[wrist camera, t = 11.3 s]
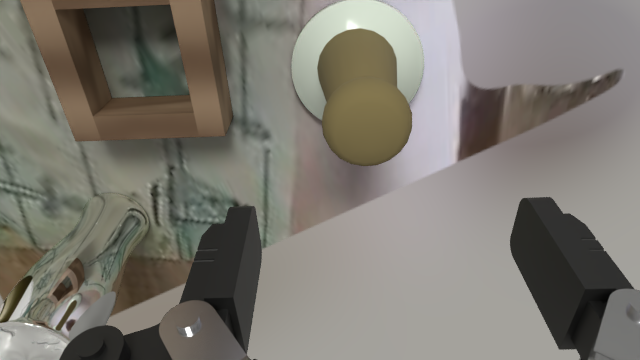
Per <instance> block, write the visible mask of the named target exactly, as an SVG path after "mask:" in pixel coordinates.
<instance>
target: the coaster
mask: <svg viewBox="0 0 640 360" xmlns="http://www.w3.org/2000/svg"><path fill="white" fill-rule="evenodd" d="M358 28H362V29H367V30H372V31H374V32H376V33H378V34H379V35H381V36H383V37H384V38H385V39H386V40H387V41H388V42H389V44H390V45H391V46H392V47H393V50H394V53H395V55H396V58H397V88H398V89H399V90H400V91H401V92H402V94H403V95H404V96H405V97H406V99H407V102H408V104H409V103H410V101H411V100H412V99H413V97H414V96H415V94H416V92H417V90H418V88H419V85H420V83H421V79H422V76H423V70H424V55H423V48H422V45H421V41H420V39H419V37H418V34H417V32H416V31H415V29H414V28H413V26H412V24H411V23H410V22H409V21H408V19H407V18H406V17H405V16H404V15H403V14H402V13H401V12H400V11H398V10H397V9H395V8H394V7H392V6H390V5H388V4H386V3H384V2H381V1H378V0H341V1H338V2H335V3H333V4H330V5H329V6H327V7H325V8H323V9H322V10H320V11H319V12H318V13H317V14H315V15H314V16H313V17H312V18H311V19H310V20H309V21H308V22H307V24H306V25H305V26H304V28H303V29H302V31H301V33H300V34H299V36H298V39H297V41H296V44H295V47H294V51H293V56H292V64H291V66H292V79H293V83H294V87H295V90H296V92H297V94H298V96H299V98H300V100H301V101H302V103H303V104H304V105H305V107H306V108H307V109H308V110H309V111H310V112H311V113H312V114H313V115H315V116H316V117H317V118H319V119H320V120H322V116H323V112H324V107H325V105H326V103H327V102H326V99H325V96H324V93H323V91H322V88H321V85H320V82H319V78H318V70H317V66H318V61H319V56H320V54H321V52H322V50H323V48H324V47H325V45H326V44H327V43H328V42H329V41H330V40H331V39H332V38H333V37H334V36H335V35H337V34H339V33H342V32H344V31H346V30H350V29H358Z"/></svg>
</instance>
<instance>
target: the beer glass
mask: <svg viewBox="0 0 640 360" xmlns="http://www.w3.org/2000/svg"><path fill="white" fill-rule="evenodd" d="M148 229H149V219H148V216H147V214H146V212H145V210H144V209H143V208H142V207H141V206H140V205H139V204H138V203H137V202H135V201H134V200H132V199H131V198H129V197H126V196H124V195H121V194H117V193H102V194H98V195H96V196H94V197H92V198H91V199H89V200H88V202H87V203H86V204H85V206H84V208H83V211H82V213H81V216H80V218H79V220H78V222H77V224H76V225H75V227H74V228H73V229H72V230H71V232H70V233H69V234H68V235H66V236H65V237H64V238H63V239H62V240H61V241H60V242H59V243H57V244H56V245H55V246H54V247H53V248H52V249H50V250H49V251H48V252H47V253H46V254H45V255H44V256H42V257H41V258H40V259H39V260H38V261H37V262H36V263H35V264H34V265H33V266H32V267H31V268H30V269H29V270H28V271H27V272H26V273H25V275H24V276H23V277H22V278H21V279H20V281H19V282H18V283H17V284H16V285H15V287H14V288H13V290H12V291H11V292H10V294H9V295H8V296H7V298H6V299H5V301H4V302H3V304H2V305H1V307H0V360H59V359H60V357H61V355H62V353H63V351H64V349H65V348H66V346H67V345H68V344H69V343H70V342H71V341H72V340H73V339H74V338H75V337H76V336H77V335H79V334H80V333H82V332H84V331H86V330H88V329H90V328H93V327H97V326H103V325H106V323H107V321H108V319H109V317H110V315H111V313H112V310H113V308H114V305H115V303H116V300H117V297H118V294H119V290H120V287H121V283H122V279H123V276H124V272H125V268H126V265H127V261H128V259H129V256H130V254H131V253H132V251H133V249H134V248H135V247H136V246H137V245H138V243H139V242H140V241H141V240H142V239H143V238H144V236H145V235H146V233H147V232H148Z"/></svg>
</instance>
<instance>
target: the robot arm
mask: <svg viewBox="0 0 640 360" xmlns="http://www.w3.org/2000/svg"><path fill="white" fill-rule="evenodd" d="M510 247H511V253H512V256H513V258H514V260H515V262H516V264H517V266H518V268H519V270H520V272H521V274H522V276H523V278H524V280H525V282H526V284H527V286H528V288H529V290H530V292H531V294H532V296H533V298H534V300H535V302H536V303H537V306H538V308H539V310H540V312H541V314H542V316H543V318H544V320H545V322H546V324H547V326H548V328H549V330H550V332H551V334H552V336H553V338H554V340H555V342H556V344H557V346H558V348H559V349H577V351H578V353H579V355H580V359H579V360H640V291H639V290H635V289H634V288H633V287H632V286H631V284H630V283H629V281H628V280H627V279H626V277H625V276H624V275H623V273H622V272H621V271H620V270H619V268H618V267H617V265H616V264H615V263H614V262H613V260H612V259H611V258H610V256H609V255H608V254H607V252H606V251H604V250H603V249H604V248H603V247H602V246H601V244H600V243H599V242H598V241H597V240H595V236H594V235H593V234H592V232H591V231H590V230H589V229H588V227H587V226H586V225H585V224H584V223H582V222H581V221H580V220H578V219H577V218H575V217H574V216H573V215H571V214H563V213H562V211H561V210H560V208H559V207H558V206H557V204H556V203H555V201H554V200H553V199H552V198H550V197H540V198H523V199H522V200H521V201H520V204H519V207H518V211H517V215H516V219H515V222H514V226H513V230H512V234H511V238H510ZM261 253H262V250H261V240H260V234H259V228H258V222H257V215H256V210H255V207H254V206H242V207H230V208H229V209H228V213H227V216H226V220H225V224H212V225H211V226H210V228H209V229H208V230H207V231H206V232H205V233H204V234H203V235H202V237H201V240H200V243H199V246H198V252H196V255H195V258H194V262H193V264H192V267H191V270H190V273H189V276H188V279H187V282H186V285H185V288H184V291H183V294H182V298H181V300H180V303H179V305H176V306H175V307H173V308H172V309H171V310H169V311H168V312H167V313H166V314H165V316H164V317H163V319H162V320H161V322H160V323H159V324H158V325H155V326H153V327H151V328H148V329H144V330H141V331H138V332H134V333H131V334H128V335H124V336H123V334H122V332H121V331H120V330H119V329H117V328H116V327H113V326H108V325H103V326H97V327H93V328H90V329H88V330H86V331H84V332H82V333H80V334H79V335H77V336H76V337H75V338H74V339H73V340H72V341H71V342H70V343H69V344H68V345H67V346H66V348H65V349H64V351H63V353H62V355H61V357H60V359H59V360H251V359H250V358H249V357H248V356H247V350H248V344H249V337H250V331H251V325H252V318H253V312H254V305H255V299H256V293H257V286H258V280H259V274H260V267H261V256H262V254H261ZM253 360H256V359H253Z"/></svg>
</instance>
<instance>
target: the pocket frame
mask: <svg viewBox="0 0 640 360" xmlns="http://www.w3.org/2000/svg"><path fill="white" fill-rule="evenodd" d="M20 1H21V3H22V6H23V9H24V11H25V14H26V16H27V19H28V21H29V24H30V26H31V29H32V31H33V34H34V36H35V39H36V42H37V44H38V47H39V49H40V52H41V54H42V57H43V59H44V62H45V64H46V67H47V69H48V72H49V75H50V77H51V80H52V82H53V85H54V87H55V90H56V92H57V95H58V97H59V100H60V102H61V105H62V108H63V110H64V113H65V115H66V118H67V120H68V123H69V125H70V128H71V130H72V133H73V136H74V138H75V141H100V140H128V139H156V138H184V137H212V136H225V135H226V133H227V130H228V128H229V126H230V123H231V121H232V118H233V112H232V106H231V100H230V94H229V88H228V82H227V76H226V70H225V64H224V58H223V52H222V46H221V40H220V34H219V28H218V22H217V16H216V10H215V4H214V0H20ZM169 4H170V6H171V10H172V15H173V20H174V24H175V29H176V33H177V38H178V42H179V47H180V51H181V56H182V61H183V65H184V70H185V74H186V79H187V83H188V88H189V93H190V95H179V96H153V97H127V98H112V97H111V94H110V91H109V88H108V85H107V82H106V79H105V75H104V72H103V69H102V66H101V63H100V60H99V57H98V54H97V51H96V48H95V45H94V42H93V38H92V35H91V32H90V29H89V26H88V23H87V20H86V17H85V14H84V11H83V8H104V7H126V6H147V5H169Z"/></svg>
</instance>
